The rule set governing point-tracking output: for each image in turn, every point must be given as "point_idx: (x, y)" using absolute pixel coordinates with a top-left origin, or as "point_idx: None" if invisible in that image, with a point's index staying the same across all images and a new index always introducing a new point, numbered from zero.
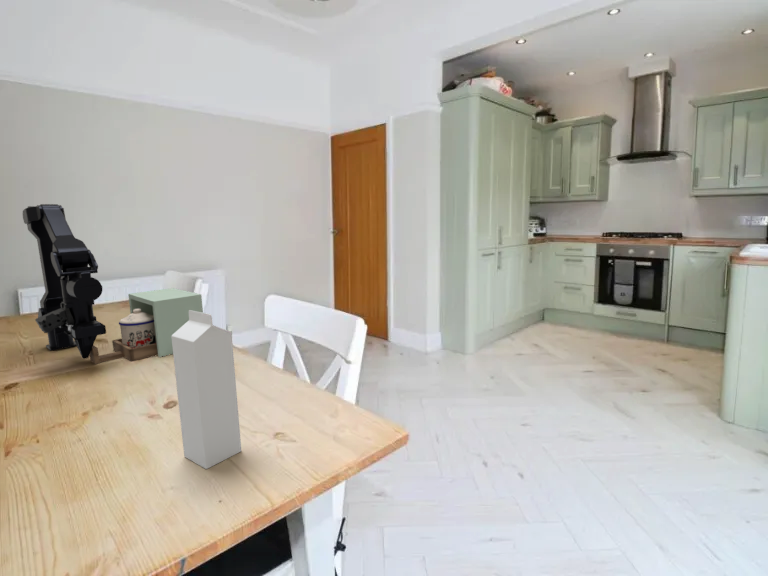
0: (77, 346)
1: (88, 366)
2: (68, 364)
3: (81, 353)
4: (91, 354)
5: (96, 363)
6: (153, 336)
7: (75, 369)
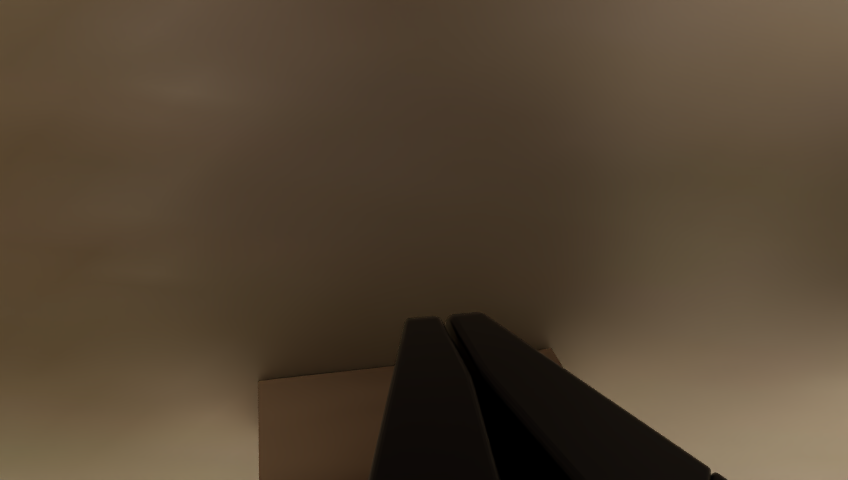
0: (637, 468)
1: (210, 288)
2: (669, 55)
3: (396, 388)
4: None
5: (263, 401)
6: None
7: (180, 84)
